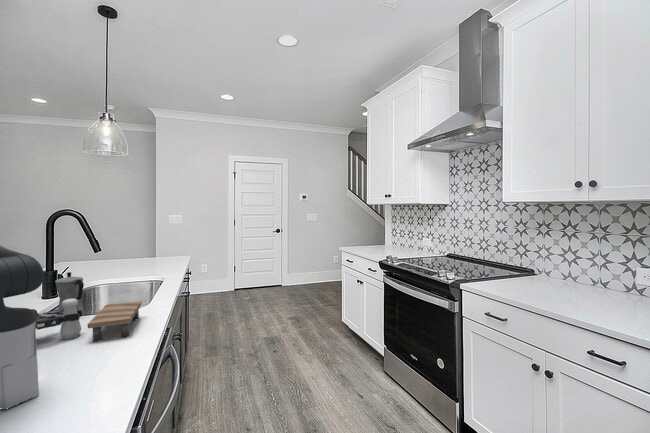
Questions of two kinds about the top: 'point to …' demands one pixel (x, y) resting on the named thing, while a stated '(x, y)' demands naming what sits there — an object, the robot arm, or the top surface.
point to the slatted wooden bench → (115, 318)
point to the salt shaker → (70, 327)
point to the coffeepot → (70, 290)
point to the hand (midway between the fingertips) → (80, 314)
